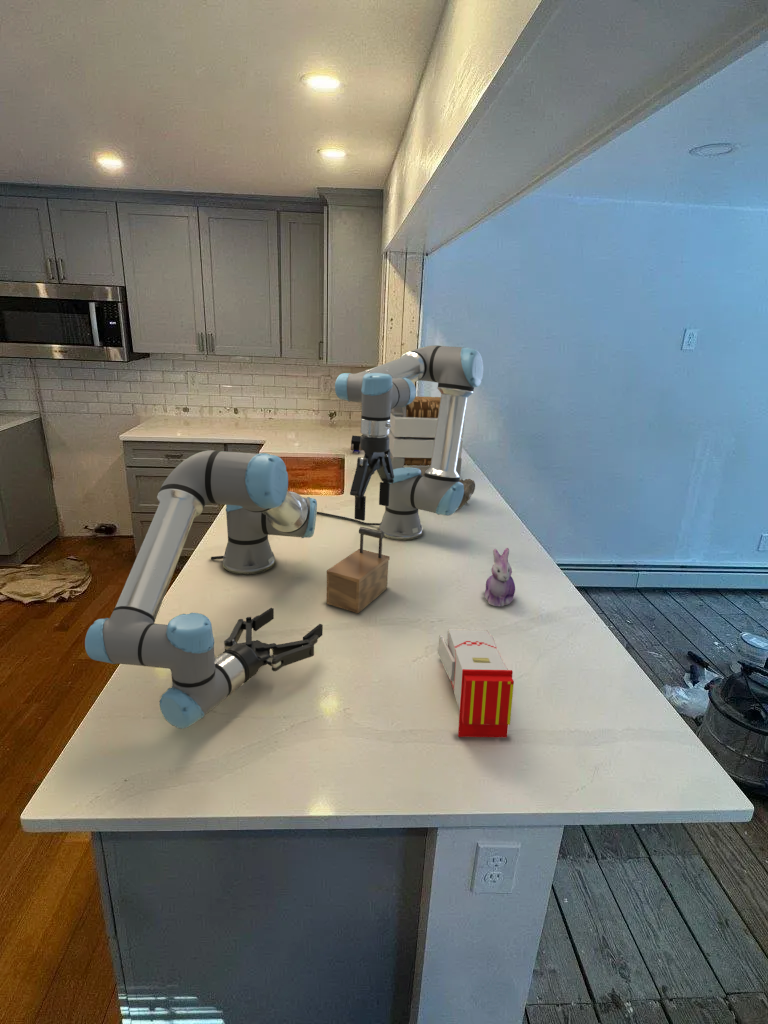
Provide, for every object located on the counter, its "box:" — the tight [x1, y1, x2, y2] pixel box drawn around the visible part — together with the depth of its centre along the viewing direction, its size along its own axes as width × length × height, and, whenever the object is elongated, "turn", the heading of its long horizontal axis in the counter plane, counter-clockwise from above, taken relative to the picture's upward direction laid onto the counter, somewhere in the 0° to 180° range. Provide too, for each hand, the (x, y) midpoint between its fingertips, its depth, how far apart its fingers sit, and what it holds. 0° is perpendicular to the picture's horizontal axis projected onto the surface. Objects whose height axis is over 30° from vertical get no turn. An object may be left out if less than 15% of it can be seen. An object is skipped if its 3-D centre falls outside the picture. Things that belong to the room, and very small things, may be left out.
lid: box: [326, 526, 391, 583], centre depth 152 cm, size 17×10×9 cm, turn 153°
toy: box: [437, 628, 515, 738], centre depth 117 cm, size 12×13×30 cm
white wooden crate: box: [388, 395, 465, 480], centre depth 268 cm, size 34×33×41 cm
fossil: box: [457, 478, 476, 510], centre depth 232 cm, size 22×10×15 cm
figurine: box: [484, 547, 516, 607], centre depth 155 cm, size 9×10×15 cm
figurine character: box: [350, 435, 363, 454], centre depth 309 cm, size 7×8×15 cm
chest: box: [326, 560, 389, 614], centre depth 154 cm, size 16×10×9 cm, turn 152°
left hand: (296, 620), depth 130 cm, fingers open, 13 cm apart
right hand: (372, 512), depth 154 cm, fingers open, 13 cm apart
